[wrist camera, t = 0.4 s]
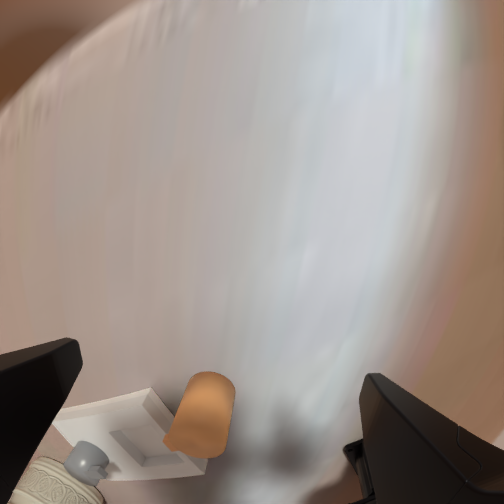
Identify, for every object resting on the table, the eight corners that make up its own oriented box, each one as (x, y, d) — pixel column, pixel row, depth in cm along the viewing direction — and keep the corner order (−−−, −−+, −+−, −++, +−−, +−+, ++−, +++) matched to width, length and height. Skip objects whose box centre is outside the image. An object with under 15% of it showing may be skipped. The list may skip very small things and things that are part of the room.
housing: (208, 456, 26) (198, 501, 20) (114, 466, 29) (97, 500, 23) (151, 387, 24) (126, 433, 19) (61, 408, 27) (35, 441, 21)
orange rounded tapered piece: (243, 400, 24) (236, 453, 18) (197, 413, 25) (182, 462, 19) (220, 365, 23) (206, 417, 17) (173, 380, 24) (150, 428, 18)
